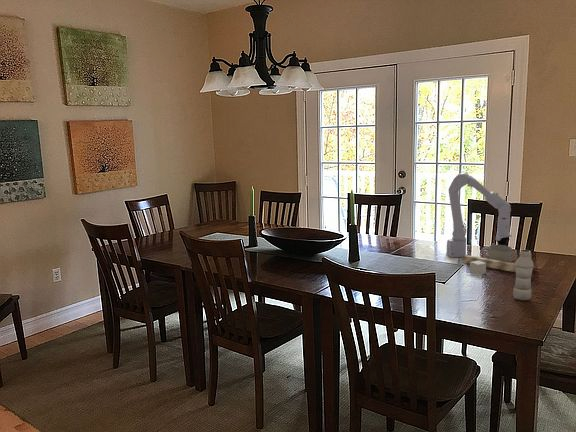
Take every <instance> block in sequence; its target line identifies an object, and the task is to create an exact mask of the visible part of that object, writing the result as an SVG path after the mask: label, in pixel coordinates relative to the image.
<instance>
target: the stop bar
mask: <svg viewBox="0 0 576 432" xmlns="http://www.w3.org/2000/svg"><path fill="white" fill-rule="evenodd" d="M472 261H481V262H484V263H486V268H491V269H494V270H495V269H497V270H502V271H507V272H512V273H516V267H515V262H510V261H509V262H504V261H498V260H493V259H488V258H487V257H486V258H485V257H479V256H474V255H469V254H466V255H462V257H461V263H463V264H467V265H468V264H469V265H470V262H472Z"/></svg>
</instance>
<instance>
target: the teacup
mask: <svg viewBox="0 0 576 432" xmlns="http://www.w3.org/2000/svg"><path fill="white" fill-rule="evenodd" d="M485 250H486V251H487V252H488V254H486V253H485ZM512 251H513V248H512V247H511V246H509V245H507V246H505V245H498V244H490V245H489V246H488V247H486V246H484V247H483V248H482V249H481V254H482V255H484V256H485V257H486V258H487V259H493V260H498V261H504V262H510V261H511V258H512Z"/></svg>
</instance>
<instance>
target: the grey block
mask: <svg viewBox="0 0 576 432" xmlns="http://www.w3.org/2000/svg"><path fill="white" fill-rule="evenodd" d="M469 273H471V274H474V275H477V276H479V275H483V274H486V273H487V267H486V263H484V262H481V261H472V262H470V264H469Z"/></svg>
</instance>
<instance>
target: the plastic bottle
mask: <svg viewBox="0 0 576 432" xmlns="http://www.w3.org/2000/svg"><path fill="white" fill-rule="evenodd" d="M530 253H531V250H529V249H519V257H518V258H517V259H516V261H515V262H514V263H515V267H516V272H515V281H514V283H515V284H514V287H513V290H512V295H513V298H514V299H515V300H517V301H529V300H530V299H531V297H532V286H531V285H532V283H531V282H532V281H531V280H532V274H533V270H534V265H535V264H534V261H533V260H532V253H531V254H530ZM530 256H531V258H530Z"/></svg>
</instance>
